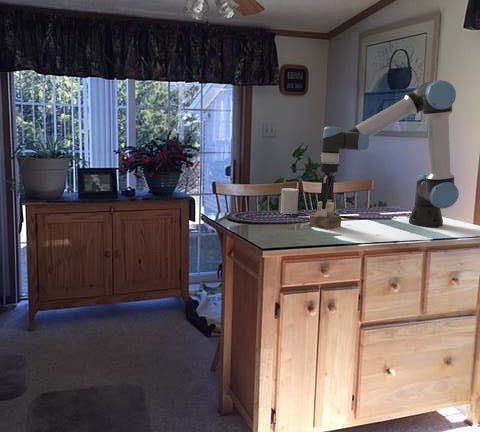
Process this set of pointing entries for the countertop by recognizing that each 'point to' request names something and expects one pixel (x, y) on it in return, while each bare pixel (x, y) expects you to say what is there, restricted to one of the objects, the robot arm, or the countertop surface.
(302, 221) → the countertop surface
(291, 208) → the cup
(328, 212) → the maple cube
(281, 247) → the countertop surface
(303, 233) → the countertop surface
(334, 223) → the walnut block
